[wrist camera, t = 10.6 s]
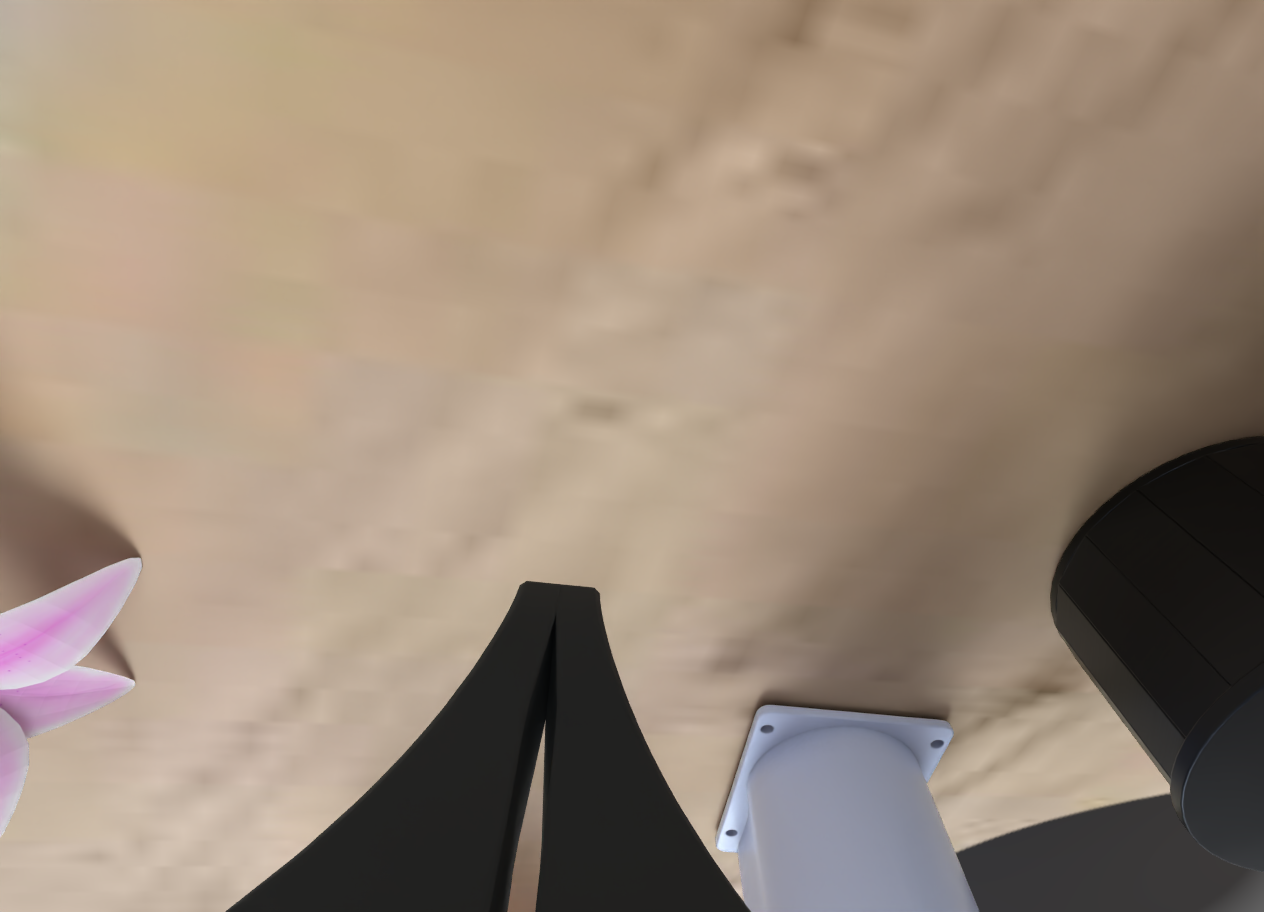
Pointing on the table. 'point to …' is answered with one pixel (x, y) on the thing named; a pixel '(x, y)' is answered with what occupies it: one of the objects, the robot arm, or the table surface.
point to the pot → (1170, 592)
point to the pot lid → (1226, 775)
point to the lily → (55, 666)
